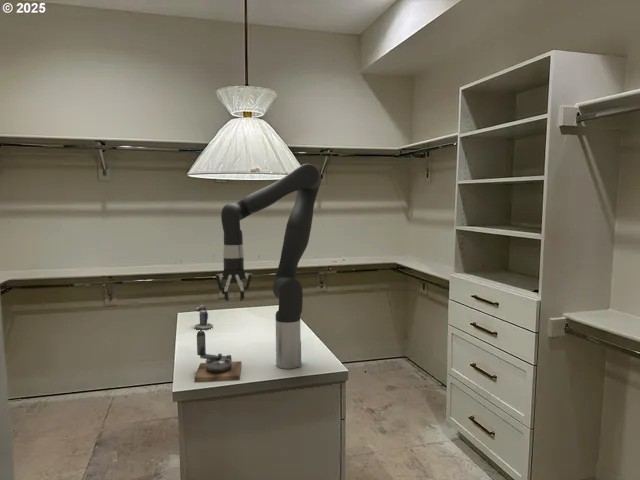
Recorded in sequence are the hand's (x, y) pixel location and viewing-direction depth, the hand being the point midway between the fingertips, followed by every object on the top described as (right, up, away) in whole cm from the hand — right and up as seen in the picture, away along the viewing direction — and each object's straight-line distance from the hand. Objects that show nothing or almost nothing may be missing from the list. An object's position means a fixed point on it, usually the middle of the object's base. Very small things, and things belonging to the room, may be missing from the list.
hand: (234, 300), depth 171 cm
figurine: (-24, -20, +46) cm, 56 cm away
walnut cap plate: (-3, -24, -12) cm, 27 cm away
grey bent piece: (-5, -22, -11) cm, 26 cm away
